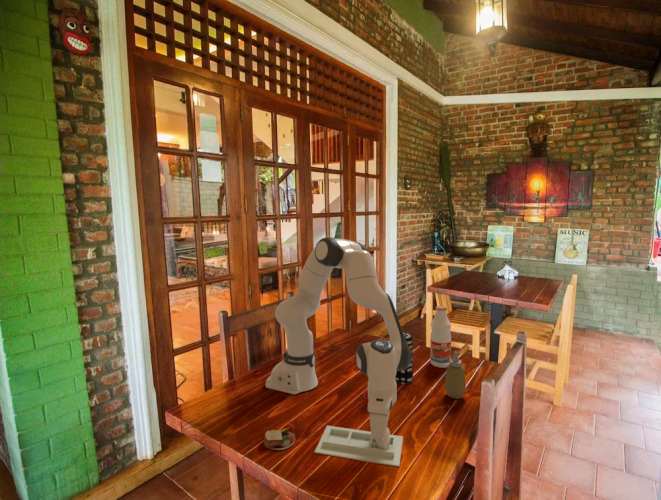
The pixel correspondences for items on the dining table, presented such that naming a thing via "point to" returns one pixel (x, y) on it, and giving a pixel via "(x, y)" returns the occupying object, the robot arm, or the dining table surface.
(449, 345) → the fruit juice
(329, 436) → the egg tray
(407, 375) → the white-spotted black cylinder
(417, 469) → the dining table surface
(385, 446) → the egg
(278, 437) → the toy sandwich meal
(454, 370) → the squeeze bottle
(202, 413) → the dining table surface
